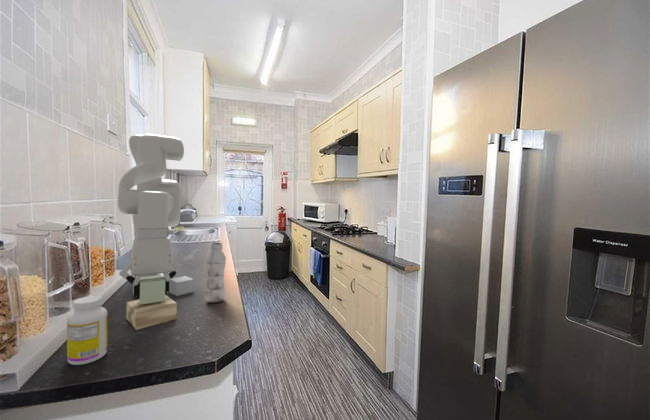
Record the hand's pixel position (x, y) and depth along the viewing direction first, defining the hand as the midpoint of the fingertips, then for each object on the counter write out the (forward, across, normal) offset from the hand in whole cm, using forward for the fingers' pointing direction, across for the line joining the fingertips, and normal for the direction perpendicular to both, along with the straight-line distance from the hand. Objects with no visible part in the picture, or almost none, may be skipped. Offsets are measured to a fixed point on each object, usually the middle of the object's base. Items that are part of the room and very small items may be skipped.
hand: (151, 295), depth 80 cm
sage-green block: (+1, 0, 0) cm, 1 cm away
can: (+7, 0, -23) cm, 24 cm away
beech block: (+7, 0, 0) cm, 7 cm away
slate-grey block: (+7, -11, -20) cm, 24 cm away
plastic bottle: (+7, -19, -4) cm, 21 cm away
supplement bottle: (+7, +13, +16) cm, 21 cm away
